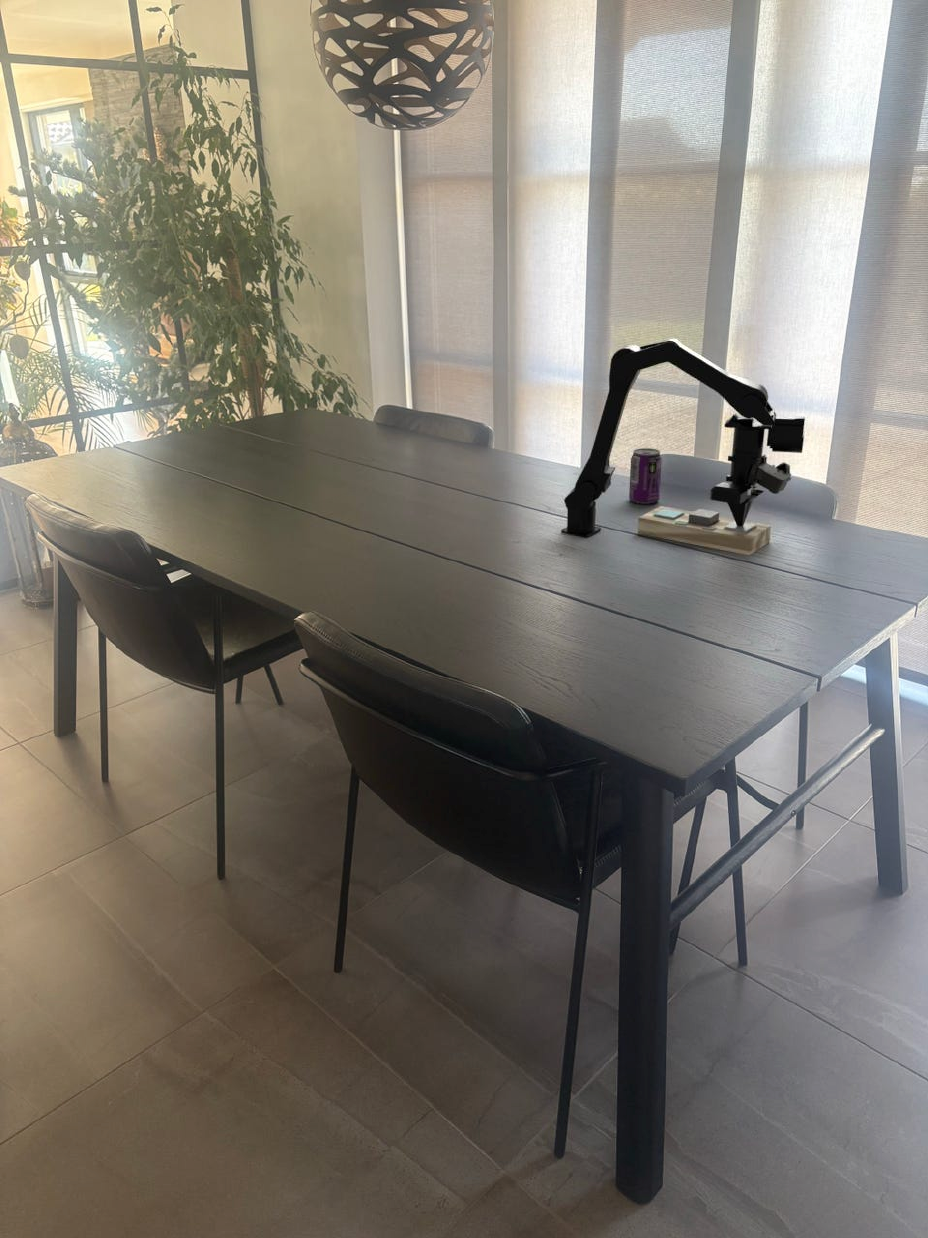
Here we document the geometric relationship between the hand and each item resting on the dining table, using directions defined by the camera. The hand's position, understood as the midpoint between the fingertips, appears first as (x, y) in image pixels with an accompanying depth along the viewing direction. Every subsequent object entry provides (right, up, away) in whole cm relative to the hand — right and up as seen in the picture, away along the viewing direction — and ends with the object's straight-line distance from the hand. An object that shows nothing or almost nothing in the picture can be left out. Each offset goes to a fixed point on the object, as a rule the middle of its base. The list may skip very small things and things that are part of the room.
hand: (740, 525), depth 189 cm
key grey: (0, -3, +1) cm, 3 cm away
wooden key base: (-6, -2, +6) cm, 9 cm away
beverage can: (-13, +9, +32) cm, 36 cm away
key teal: (-12, +1, +10) cm, 16 cm away
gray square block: (-6, 0, +5) cm, 8 cm away
